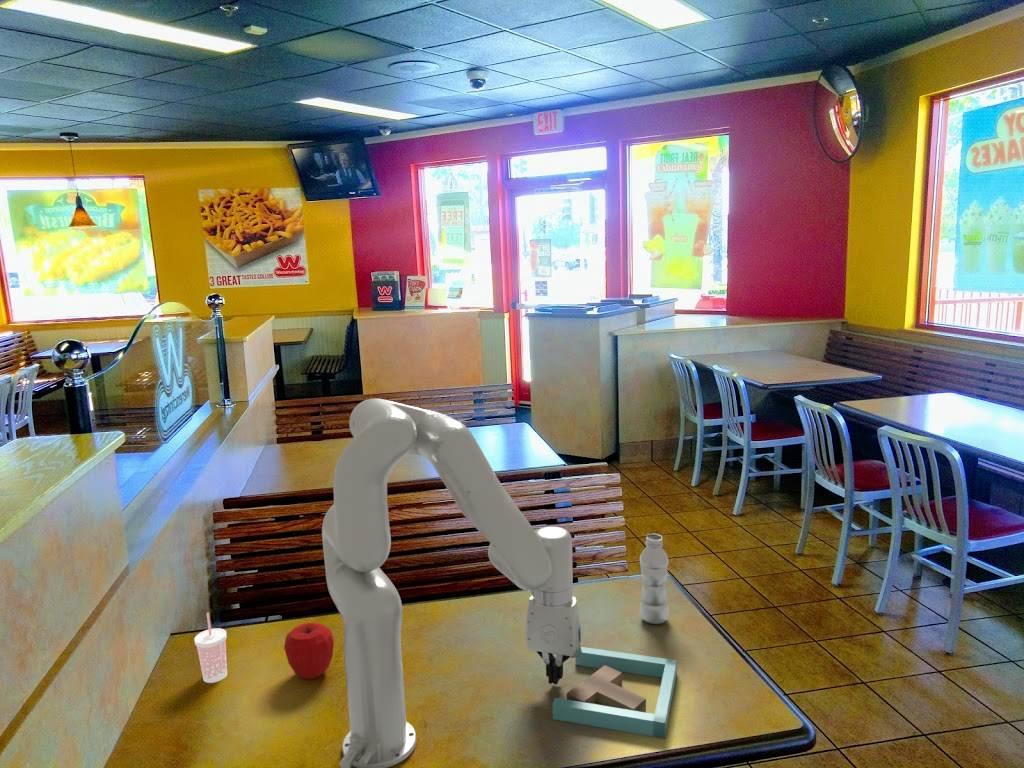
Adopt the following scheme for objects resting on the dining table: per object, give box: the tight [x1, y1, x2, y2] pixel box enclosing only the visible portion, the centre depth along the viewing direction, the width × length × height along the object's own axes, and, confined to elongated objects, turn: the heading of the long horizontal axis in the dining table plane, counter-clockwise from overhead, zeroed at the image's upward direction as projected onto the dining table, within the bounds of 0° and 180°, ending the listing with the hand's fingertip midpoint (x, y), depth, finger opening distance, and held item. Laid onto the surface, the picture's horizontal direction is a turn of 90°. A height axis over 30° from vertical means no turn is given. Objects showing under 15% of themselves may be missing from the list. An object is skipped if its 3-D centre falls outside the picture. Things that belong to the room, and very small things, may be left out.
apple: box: [283, 622, 335, 681], centre depth 149 cm, size 10×10×11 cm
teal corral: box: [551, 646, 678, 739], centre depth 139 cm, size 20×20×3 cm
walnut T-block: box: [566, 665, 647, 713], centre depth 136 cm, size 12×12×3 cm
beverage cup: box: [193, 612, 228, 684], centre depth 149 cm, size 6×6×14 cm
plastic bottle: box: [639, 533, 670, 625], centre depth 164 cm, size 6×7×20 cm
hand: (554, 680), depth 143 cm, fingers closed
